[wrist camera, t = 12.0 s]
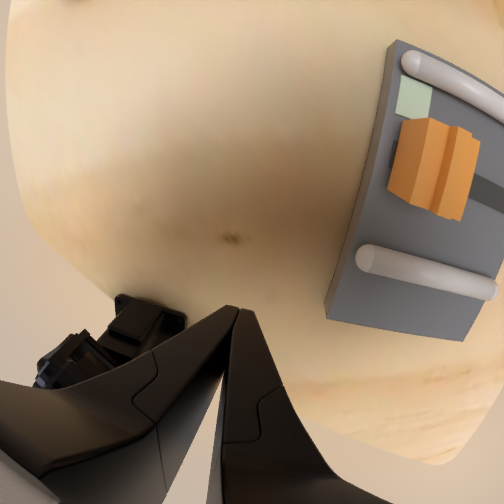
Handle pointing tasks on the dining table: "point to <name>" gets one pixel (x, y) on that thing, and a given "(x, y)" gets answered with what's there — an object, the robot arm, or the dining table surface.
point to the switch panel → (424, 211)
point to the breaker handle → (434, 166)
